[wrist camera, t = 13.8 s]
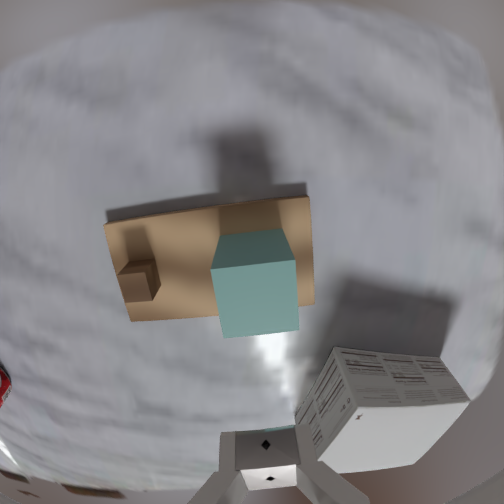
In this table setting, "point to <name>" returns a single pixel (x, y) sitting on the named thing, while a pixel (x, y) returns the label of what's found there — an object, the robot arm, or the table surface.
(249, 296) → the teal rectangular block
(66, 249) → the table surface
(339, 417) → the supplement box
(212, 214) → the post board
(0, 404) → the soda can
